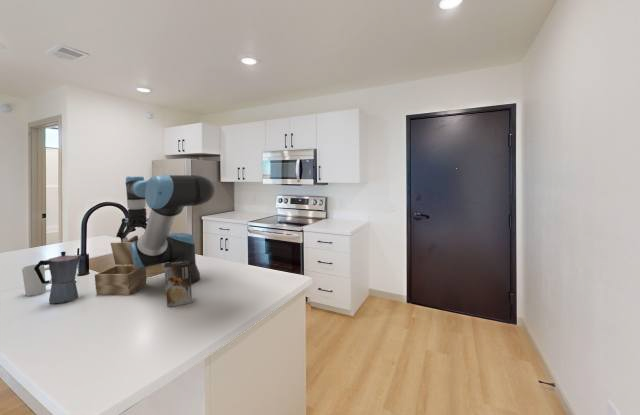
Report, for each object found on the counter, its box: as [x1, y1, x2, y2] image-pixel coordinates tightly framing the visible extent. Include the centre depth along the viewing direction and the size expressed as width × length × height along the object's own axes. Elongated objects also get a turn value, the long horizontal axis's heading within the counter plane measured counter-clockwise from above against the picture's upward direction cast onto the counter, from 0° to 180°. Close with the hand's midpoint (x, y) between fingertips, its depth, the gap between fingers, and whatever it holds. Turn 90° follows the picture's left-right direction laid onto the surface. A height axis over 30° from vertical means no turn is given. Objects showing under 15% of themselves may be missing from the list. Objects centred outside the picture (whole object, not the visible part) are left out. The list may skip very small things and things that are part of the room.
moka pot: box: [34, 251, 83, 304], centre depth 115 cm, size 10×15×20 cm, turn 161°
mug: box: [21, 263, 52, 297], centre depth 123 cm, size 10×7×12 cm, turn 139°
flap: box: [110, 235, 139, 266], centre depth 134 cm, size 12×11×9 cm
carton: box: [94, 265, 148, 296], centre depth 126 cm, size 15×12×9 cm
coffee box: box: [163, 261, 193, 308], centre depth 113 cm, size 9×6×16 cm
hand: (139, 251), depth 139 cm, fingers open, 13 cm apart
